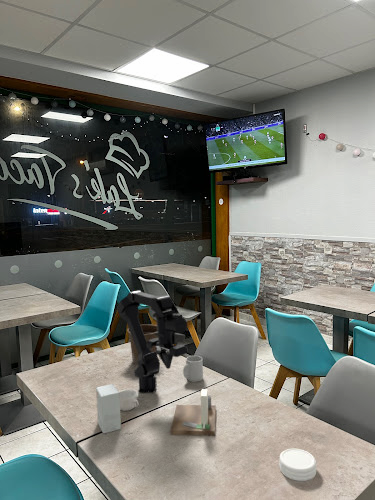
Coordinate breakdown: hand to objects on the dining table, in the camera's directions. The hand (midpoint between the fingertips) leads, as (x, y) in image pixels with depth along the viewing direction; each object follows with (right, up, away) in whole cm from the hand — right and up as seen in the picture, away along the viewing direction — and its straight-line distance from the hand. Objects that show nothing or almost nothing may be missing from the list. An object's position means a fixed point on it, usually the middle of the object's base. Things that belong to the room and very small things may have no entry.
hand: (168, 368), depth 151 cm
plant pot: (-13, -9, +42) cm, 45 cm away
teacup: (-15, -14, -5) cm, 21 cm away
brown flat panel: (+10, -14, -15) cm, 23 cm away
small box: (-20, -15, -16) cm, 30 cm away
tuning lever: (+14, -12, -15) cm, 24 cm away
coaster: (+38, -16, -41) cm, 59 cm away
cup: (+10, -11, +19) cm, 24 cm away
